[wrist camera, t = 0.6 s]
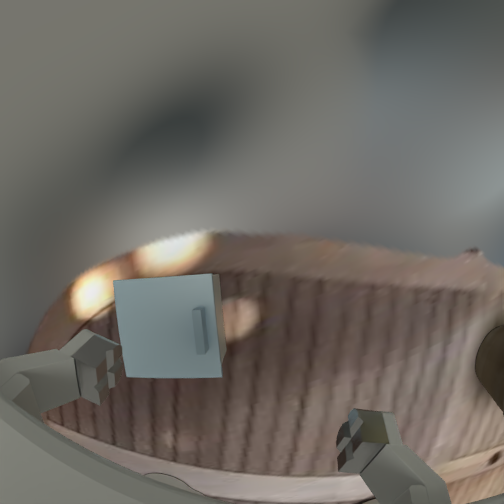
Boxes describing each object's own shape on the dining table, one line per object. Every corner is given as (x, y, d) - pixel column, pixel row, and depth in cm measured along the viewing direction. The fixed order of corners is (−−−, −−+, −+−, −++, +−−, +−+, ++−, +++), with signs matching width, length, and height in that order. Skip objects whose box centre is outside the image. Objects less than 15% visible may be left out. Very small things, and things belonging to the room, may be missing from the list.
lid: (223, 372, 43) (219, 384, 38) (131, 372, 43) (119, 383, 38) (213, 273, 44) (208, 274, 39) (118, 279, 44) (104, 281, 39)
